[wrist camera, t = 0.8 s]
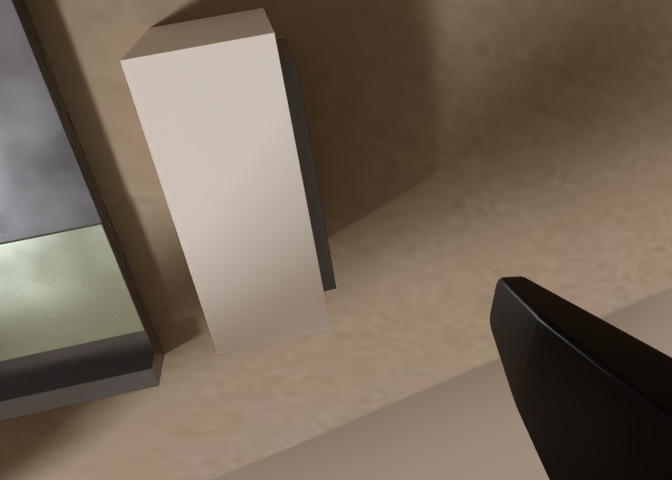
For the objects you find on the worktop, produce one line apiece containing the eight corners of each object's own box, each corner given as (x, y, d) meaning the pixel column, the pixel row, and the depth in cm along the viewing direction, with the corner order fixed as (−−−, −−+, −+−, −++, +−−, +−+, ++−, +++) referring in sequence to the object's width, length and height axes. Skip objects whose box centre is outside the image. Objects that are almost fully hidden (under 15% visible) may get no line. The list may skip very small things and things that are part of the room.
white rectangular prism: (220, 266, 24) (217, 355, 19) (150, 27, 19) (120, 60, 14) (321, 244, 25) (345, 327, 19) (276, 4, 20) (293, 29, 15)
